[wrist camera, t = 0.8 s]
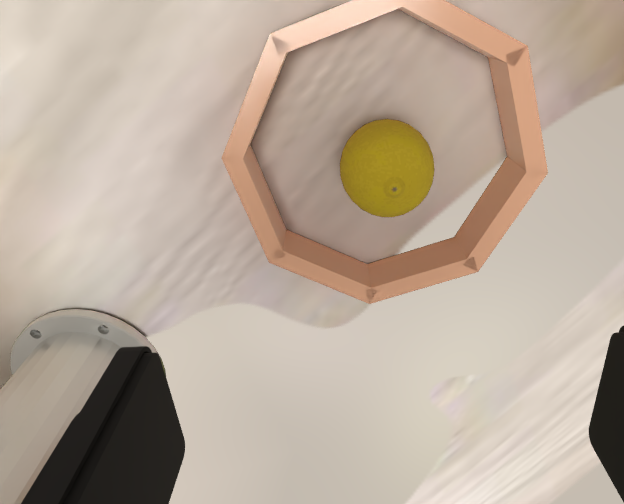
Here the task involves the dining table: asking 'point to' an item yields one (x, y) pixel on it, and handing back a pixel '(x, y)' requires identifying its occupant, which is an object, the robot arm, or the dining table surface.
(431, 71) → the dining table surface
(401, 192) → the lemon
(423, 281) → the collar
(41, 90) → the dining table surface
